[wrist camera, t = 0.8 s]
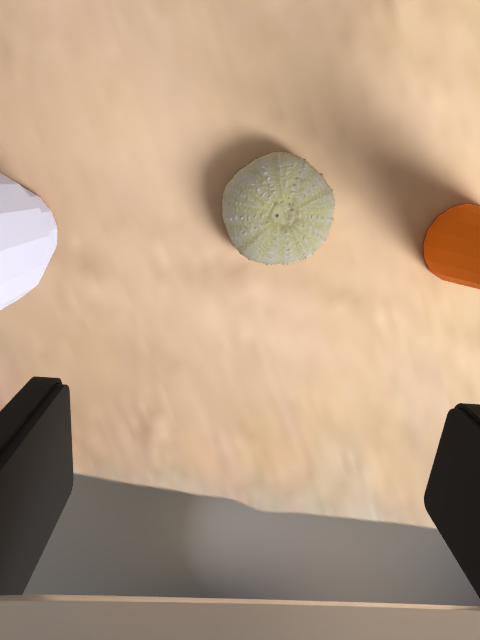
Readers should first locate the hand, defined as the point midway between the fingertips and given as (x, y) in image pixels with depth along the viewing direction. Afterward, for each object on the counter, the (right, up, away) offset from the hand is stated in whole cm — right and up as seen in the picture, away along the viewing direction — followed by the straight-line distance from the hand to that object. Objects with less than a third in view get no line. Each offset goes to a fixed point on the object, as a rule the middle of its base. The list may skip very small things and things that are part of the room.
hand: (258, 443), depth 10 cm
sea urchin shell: (+3, +13, +27) cm, 30 cm away
